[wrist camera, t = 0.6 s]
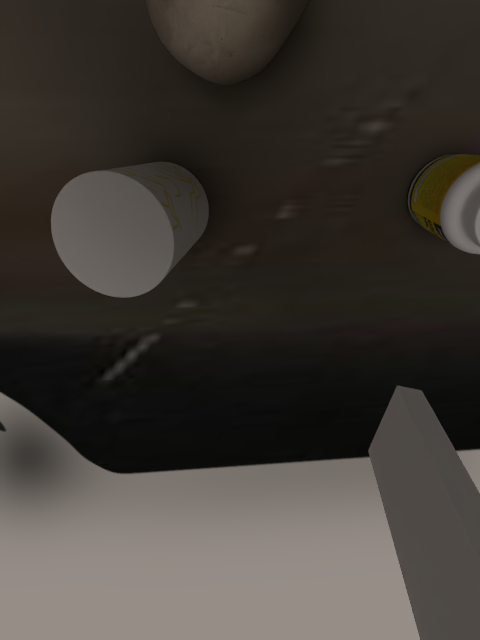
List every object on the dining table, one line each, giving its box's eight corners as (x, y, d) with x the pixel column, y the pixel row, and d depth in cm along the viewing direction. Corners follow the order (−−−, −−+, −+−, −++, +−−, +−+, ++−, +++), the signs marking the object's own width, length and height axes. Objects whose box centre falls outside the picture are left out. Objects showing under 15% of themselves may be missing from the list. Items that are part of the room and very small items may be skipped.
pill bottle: (393, 218, 33) (440, 251, 23) (427, 143, 30) (499, 144, 20) (459, 238, 33) (534, 280, 23) (499, 166, 30) (605, 178, 20)
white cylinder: (225, 195, 33) (196, 220, 23) (183, 266, 37) (141, 318, 26) (146, 142, 32) (76, 142, 21) (110, 221, 35) (35, 255, 25)
